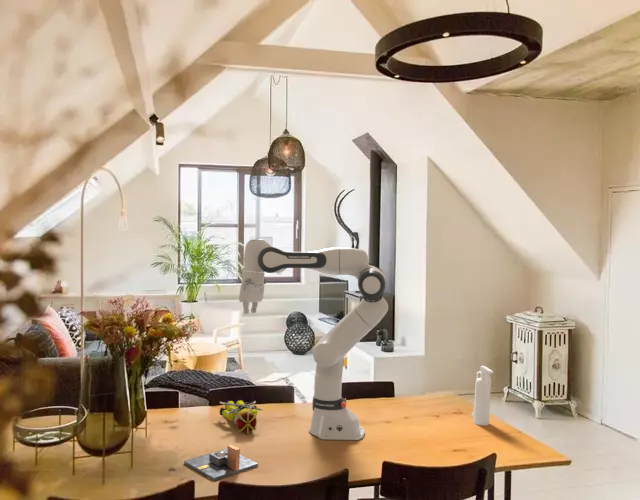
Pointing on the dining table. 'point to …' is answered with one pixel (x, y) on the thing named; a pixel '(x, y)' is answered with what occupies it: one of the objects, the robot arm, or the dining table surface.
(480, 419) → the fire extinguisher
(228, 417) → the toy
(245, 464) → the mount plate
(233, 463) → the copper and grey fixture
